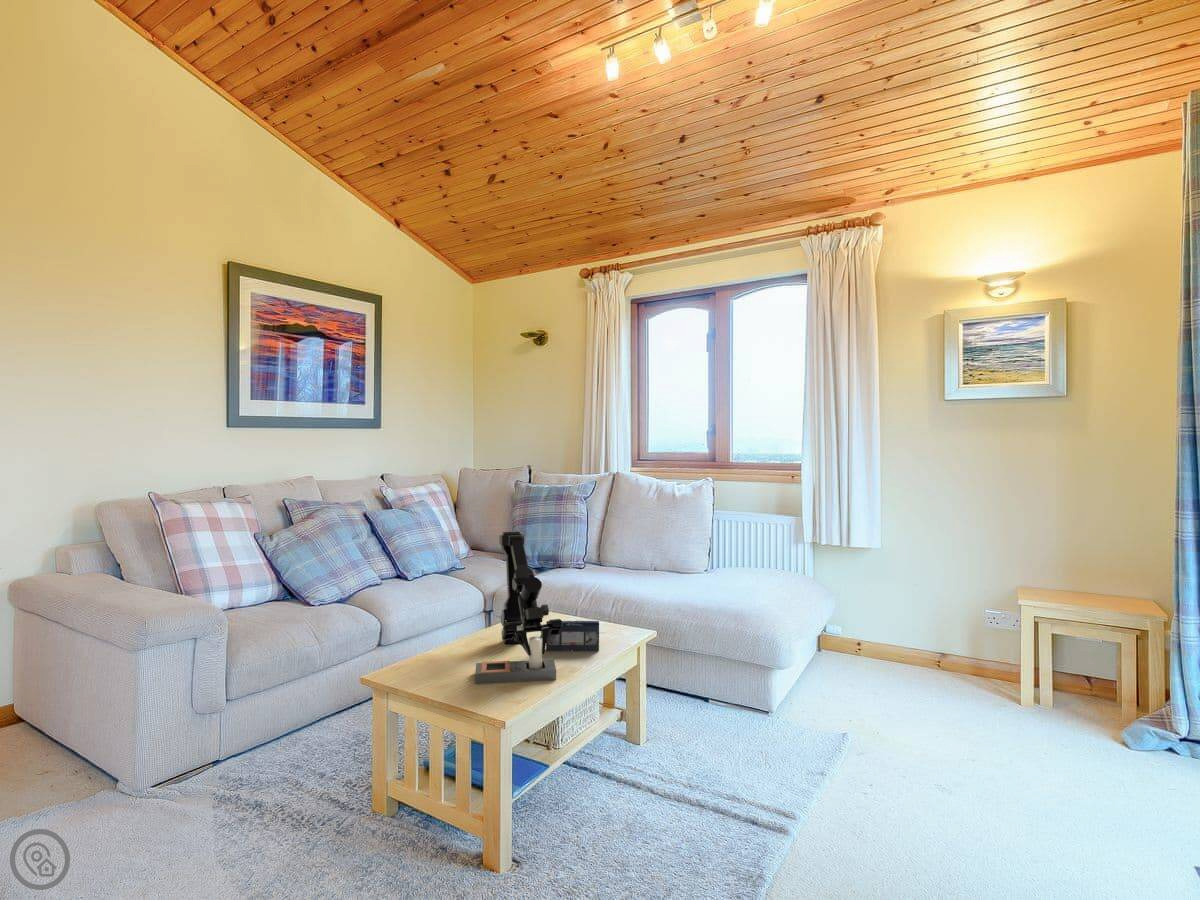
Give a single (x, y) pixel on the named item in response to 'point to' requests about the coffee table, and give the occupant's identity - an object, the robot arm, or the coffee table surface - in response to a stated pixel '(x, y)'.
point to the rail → (513, 672)
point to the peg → (535, 653)
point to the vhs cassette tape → (575, 637)
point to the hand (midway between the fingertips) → (536, 654)
